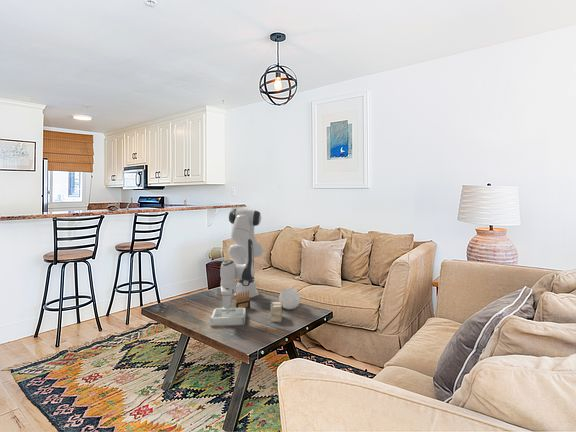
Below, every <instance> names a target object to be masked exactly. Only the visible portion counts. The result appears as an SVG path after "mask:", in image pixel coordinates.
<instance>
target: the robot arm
mask: <svg viewBox="0 0 576 432" xmlns="http://www.w3.org/2000/svg"><path fill="white" fill-rule="evenodd" d="M261 214H262V213H261V212H260V211H258V210H253V209H248V208H245V209H243V208H232V209H230V210H229V213H228V221H229V222H230V224H232V228H231V235H230V236H231V237H230V238H231V240H232V242H233V243H234V244H231V245H230V246H229V247H228V249H227V253H228V255H229V256H228V257H230V258H231V260H230V259H227V260H224V261H222V262H221V265H220V274H219V275H220V294H221V296H222V307H224V308H226V314H229V308H230V307H232V302H233V300H234V299H233V298H234V297H236V292H237V297H238V292H239V293H241V292H242V297H243V291H244V295H245V291H246V292H248V290H249V297H250V298H254V297H256V296H257V297H258V296H260V293H259V291H258V290H257V289H258V288H257V284H256V282H255V275H256V274H255V272H256V271H255V265H254V263H255V261H254V259H256V258H260V257H261V256H262V255H263V254H264V247H263V245H262V244H261V243H259V242H258V241H257V240H256V238H255V227H257V226H259V225H260V223H261V221H262V215H261ZM236 280H237V283H236Z"/></svg>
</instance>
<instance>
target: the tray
mask: <svg viewBox="0 0 576 432" xmlns="http://www.w3.org/2000/svg"><path fill="white" fill-rule="evenodd" d="M246 311H247V309H246V308H236V317H222V307H219V308H218V307H217V308H214V309H213V312H212V314H211V316H210V327H224V326H225V327H226V326H227V327H228V326H231V327H232V326H245V321H246V315H247V314H246V313H247V312H246Z"/></svg>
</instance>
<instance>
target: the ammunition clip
mask: <svg viewBox="0 0 576 432" xmlns="http://www.w3.org/2000/svg"><path fill="white" fill-rule="evenodd" d="M235 293H236V296H235V299H234V300H235V301H234V307H236V308H246V310H247V309H250V308H251V300H250V298H251V297H249V290H248V292H246V291H245V295H244V291H243V297H242V292H241V293H239V292H238V297H237V292H236V291H235Z"/></svg>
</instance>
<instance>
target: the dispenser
mask: <svg viewBox="0 0 576 432" xmlns="http://www.w3.org/2000/svg"><path fill="white" fill-rule="evenodd" d="M270 319H271V320H270V321H271V323H272V322H282V305H281V302H279V301H272V300H270Z"/></svg>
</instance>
